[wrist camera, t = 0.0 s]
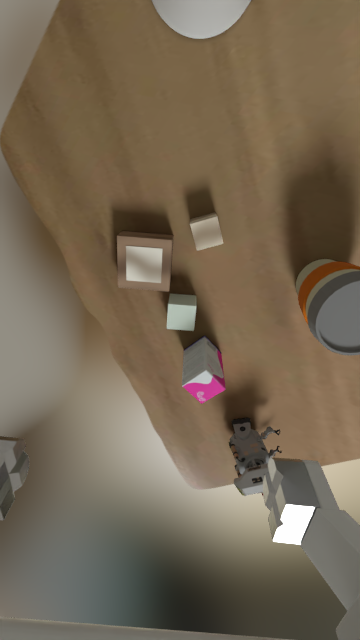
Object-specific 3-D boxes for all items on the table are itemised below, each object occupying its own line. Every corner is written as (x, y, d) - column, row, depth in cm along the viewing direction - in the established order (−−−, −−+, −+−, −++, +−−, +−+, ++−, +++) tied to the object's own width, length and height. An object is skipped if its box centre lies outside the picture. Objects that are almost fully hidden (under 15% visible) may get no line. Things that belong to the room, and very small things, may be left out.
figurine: (277, 440, 76) (295, 500, 63) (230, 446, 78) (238, 506, 64) (274, 412, 72) (293, 470, 59) (224, 419, 74) (232, 477, 60)
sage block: (169, 293, 60) (168, 303, 55) (196, 295, 60) (196, 306, 55) (168, 316, 62) (166, 328, 57) (193, 318, 62) (193, 330, 57)
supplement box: (182, 350, 65) (180, 385, 55) (204, 334, 63) (207, 368, 53) (200, 368, 67) (201, 405, 57) (222, 353, 65) (227, 389, 55)
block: (190, 219, 53) (190, 224, 49) (215, 212, 53) (217, 216, 49) (196, 244, 55) (197, 250, 51) (221, 237, 54) (223, 243, 51)
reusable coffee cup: (274, 272, 57) (299, 307, 44) (341, 234, 53) (391, 259, 40) (302, 324, 61) (333, 369, 48) (366, 292, 58) (418, 331, 45)
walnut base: (121, 230, 54) (116, 235, 51) (173, 234, 54) (172, 240, 51) (122, 279, 59) (117, 287, 55) (170, 283, 59) (169, 291, 55)
